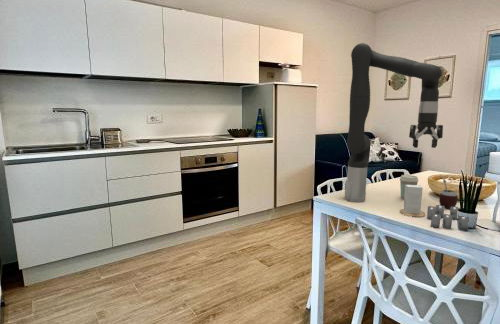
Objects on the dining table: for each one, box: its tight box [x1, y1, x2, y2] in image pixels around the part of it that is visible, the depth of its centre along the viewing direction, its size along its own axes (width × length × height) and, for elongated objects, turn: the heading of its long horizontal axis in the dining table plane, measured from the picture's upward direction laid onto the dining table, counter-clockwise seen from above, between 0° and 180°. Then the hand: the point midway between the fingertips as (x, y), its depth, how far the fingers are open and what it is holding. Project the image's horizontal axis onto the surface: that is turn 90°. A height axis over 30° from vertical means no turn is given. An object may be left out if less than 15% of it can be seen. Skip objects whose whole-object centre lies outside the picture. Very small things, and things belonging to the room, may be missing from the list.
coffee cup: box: [399, 174, 419, 201], centre depth 159 cm, size 8×8×12 cm
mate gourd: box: [439, 173, 458, 211], centre depth 146 cm, size 8×8×15 cm
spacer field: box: [426, 204, 478, 232], centre depth 126 cm, size 20×17×5 cm
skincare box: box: [402, 184, 423, 214], centre depth 137 cm, size 6×4×12 cm
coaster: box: [399, 208, 426, 218], centre depth 138 cm, size 10×10×1 cm
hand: (424, 147), depth 144 cm, fingers open, 8 cm apart
